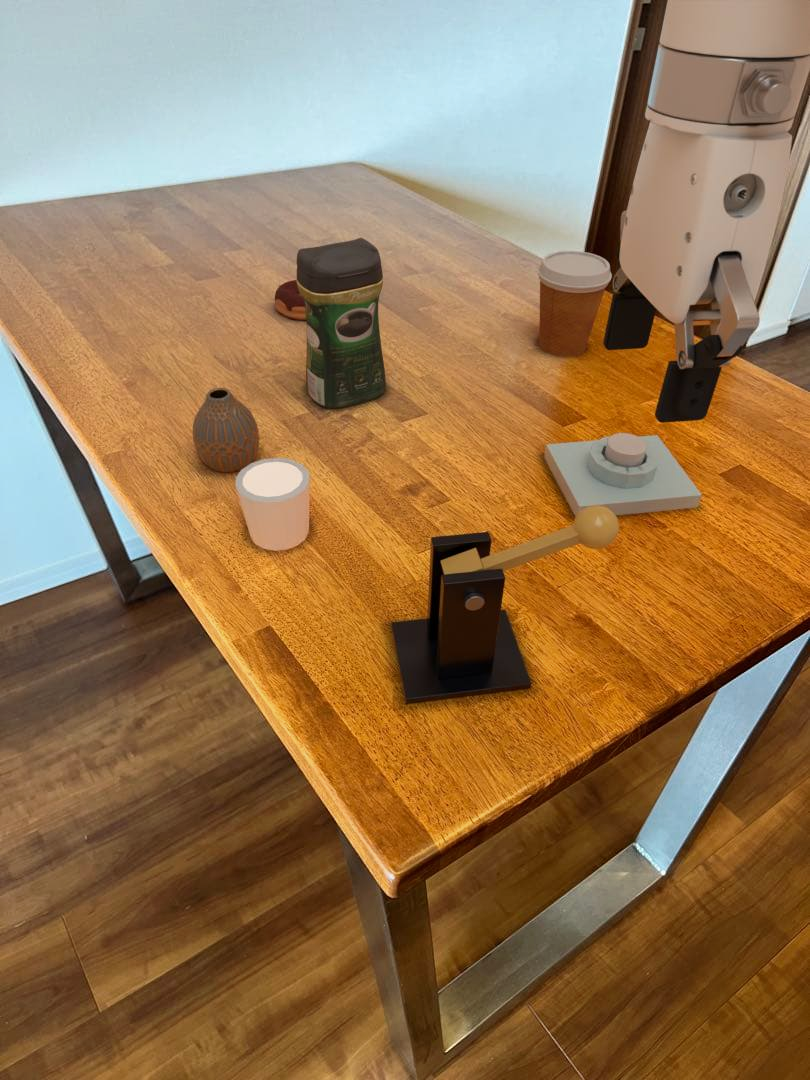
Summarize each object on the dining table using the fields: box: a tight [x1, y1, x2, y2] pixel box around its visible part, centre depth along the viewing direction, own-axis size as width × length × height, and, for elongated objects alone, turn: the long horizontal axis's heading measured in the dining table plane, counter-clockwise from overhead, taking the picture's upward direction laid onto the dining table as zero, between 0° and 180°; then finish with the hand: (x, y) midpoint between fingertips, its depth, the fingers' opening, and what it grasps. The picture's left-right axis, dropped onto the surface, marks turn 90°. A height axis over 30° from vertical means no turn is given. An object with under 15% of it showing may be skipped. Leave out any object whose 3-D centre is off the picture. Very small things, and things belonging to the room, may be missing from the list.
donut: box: [274, 279, 306, 321], centre depth 109 cm, size 10×10×4 cm
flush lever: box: [440, 505, 620, 574], centre depth 53 cm, size 13×3×3 cm, turn 99°
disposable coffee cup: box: [537, 250, 613, 357], centre depth 98 cm, size 10×10×12 cm
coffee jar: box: [295, 237, 387, 410], centre depth 86 cm, size 10×8×19 cm
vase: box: [192, 387, 260, 473], centre depth 78 cm, size 7×7×9 cm
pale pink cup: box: [235, 457, 311, 552], centre depth 70 cm, size 7×7×7 cm
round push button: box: [604, 432, 647, 468], centre depth 76 cm, size 4×4×2 cm
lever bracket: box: [390, 531, 532, 705], centre depth 56 cm, size 10×8×12 cm
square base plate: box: [543, 434, 703, 518], centre depth 77 cm, size 13×11×4 cm
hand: (649, 380), depth 50 cm, fingers open, 9 cm apart
